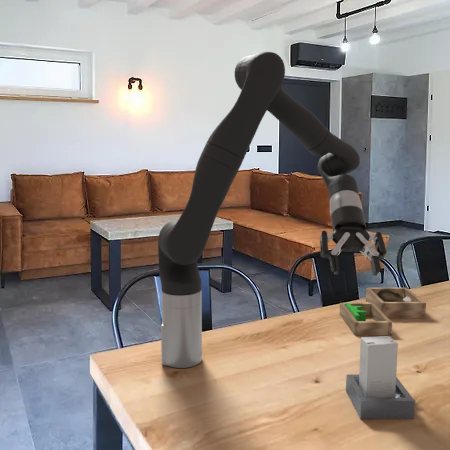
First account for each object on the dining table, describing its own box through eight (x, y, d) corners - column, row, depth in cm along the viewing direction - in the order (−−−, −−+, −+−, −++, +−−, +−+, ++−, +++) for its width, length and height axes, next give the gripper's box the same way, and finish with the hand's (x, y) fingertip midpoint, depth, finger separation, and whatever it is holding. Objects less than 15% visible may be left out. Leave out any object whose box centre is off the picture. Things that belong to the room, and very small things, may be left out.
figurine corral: (381, 317, 151) (381, 303, 150) (365, 301, 167) (366, 287, 166) (425, 317, 151) (426, 302, 150) (405, 300, 167) (406, 287, 166)
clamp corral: (354, 335, 137) (354, 322, 137) (339, 314, 154) (339, 302, 154) (391, 334, 138) (392, 322, 137) (372, 313, 154) (373, 302, 154)
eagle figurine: (397, 301, 163) (372, 298, 161) (408, 286, 158) (382, 283, 156) (405, 320, 157) (379, 317, 155) (417, 306, 152) (390, 302, 150)
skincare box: (386, 391, 104) (389, 334, 102) (396, 402, 100) (399, 343, 98) (356, 393, 103) (359, 335, 101) (365, 404, 99) (368, 344, 97)
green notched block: (368, 331, 141) (369, 315, 140) (354, 331, 141) (355, 315, 140) (357, 317, 152) (358, 302, 151) (344, 317, 152) (345, 302, 151)
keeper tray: (360, 419, 96) (361, 401, 95) (345, 390, 107) (346, 374, 106) (413, 418, 96) (414, 400, 95) (393, 390, 107) (394, 374, 106)
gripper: (319, 203, 118) (327, 263, 108) (381, 205, 118) (394, 265, 109) (314, 222, 124) (321, 281, 115) (372, 224, 124) (384, 282, 115)
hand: (356, 273), depth 112 cm, fingers open, 8 cm apart
